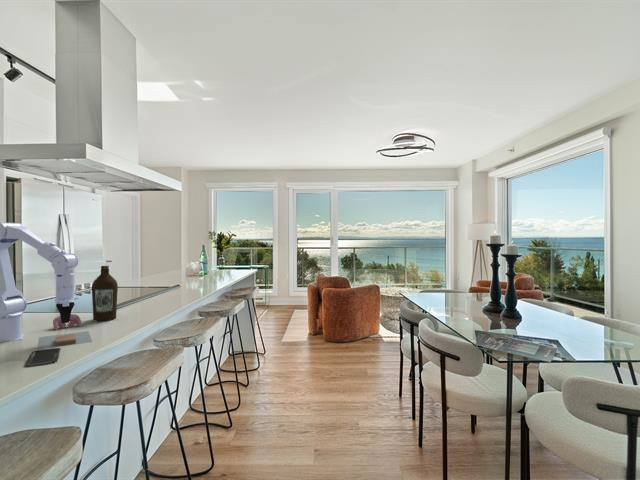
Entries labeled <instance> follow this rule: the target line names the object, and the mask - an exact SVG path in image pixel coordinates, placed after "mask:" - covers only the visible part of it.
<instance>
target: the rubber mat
mask: <svg viewBox="0 0 640 480" xmlns="http://www.w3.org/2000/svg"><path fill="white" fill-rule="evenodd" d="M73 334H75V337H76V343H75V344H68V345H61V346H56V343H55V337H57V336H65V335H73ZM92 342H93V340H92V337H91V335H90V331H89V330H87V331H79V332H71V333H69V332H68V333H61V334H55V335H47V336H39V337H38V345H37V350H45V349H53V348H60V347H68V346H73V345H80V344H81V345H82V344H86V343H92Z"/></svg>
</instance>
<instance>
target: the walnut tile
mask: <svg viewBox="0 0 640 480" xmlns="http://www.w3.org/2000/svg"><path fill="white" fill-rule="evenodd" d="M55 343H56V346H60V347H62V346H61V345H67V346H69V345H68V344H75V343H76V337H75V334H73V335H65V336H57V337H55ZM75 345H76V344H75Z"/></svg>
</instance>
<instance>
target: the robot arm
mask: <svg viewBox="0 0 640 480" xmlns="http://www.w3.org/2000/svg"><path fill="white" fill-rule="evenodd" d="M19 240H20V241H22V242H24V243H25V244H27V245H29V246H31V247H32V248H34V249H35V250H37V254H38V255H39V256H40V257H41V258H43V259H45V260H46V261H48V262H49V263H51V267H52V268H53V270H54V274H55V300H54V301H55V302H57V303H56V304H55V307H56V309H57V310H58V313H59V316H60V317H61V322H62V323H65V324H67V323H68V324H69V322H70V321H69V320H70V315H71V314H72V311H73V309H74V307H75V305H76V304H75V302H74V301H75V300H79V296H75V268H76V267H77V266H78V264H79V259H78V257H77V256H76V255H75V253H67V252H66V250H64V249H61V248H60V247H58V246H56V245H57V244H56V243H55V242H50V241H48V242H45V241H43V240H42V239H40V238H39V237H38V236H37V235H35V234H34V233H33V232H32V231H31V230H29V229H28V227H27V226H26V225H24V224H23V223H21V222H0V343H4V342H5V343H6V342H12V341H13V342H14V341H21V340H23V338H24V335H25V333H24V332H23V331H22V330H23V329H22V328H23V323H22V320H23V319H22V315H24V312H25V311H26V309H27V307H28V302H27V300H26V299H25V297H24V293H23V292H22V291H21V290H19V289H17V287H16V282H15V278H14V272H13V267H12V263H11V258H10V252H9V248H10V247H11V246H12V245H14V244H15V243H17V242H18V241H19Z"/></svg>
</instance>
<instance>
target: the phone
mask: <svg viewBox="0 0 640 480" xmlns="http://www.w3.org/2000/svg"><path fill="white" fill-rule="evenodd" d="M61 348H62V347H61ZM61 348H60V347H53V348H46V349H39V350H38V349H37V350H33V351H32V352H31V354H30V355H29V357H28V359H27V361H26V362H25V367H26V368H29V367H30V368H31V367H37V366H44V365H45V364H46V365H52V364H51V363H53V364H56V363H58V360H59V357H60V354H61ZM55 362H56V363H55Z"/></svg>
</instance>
